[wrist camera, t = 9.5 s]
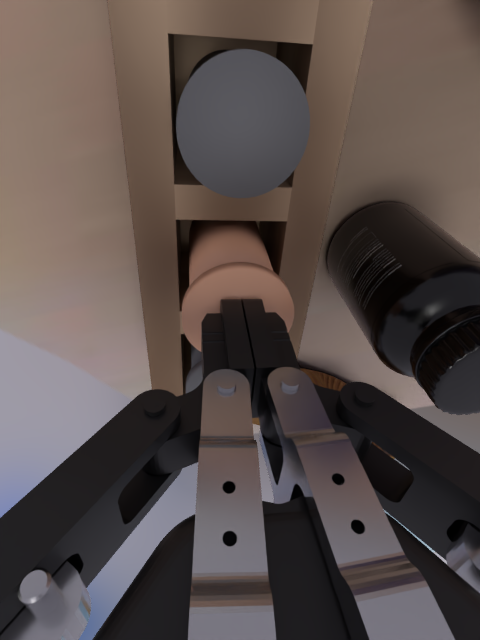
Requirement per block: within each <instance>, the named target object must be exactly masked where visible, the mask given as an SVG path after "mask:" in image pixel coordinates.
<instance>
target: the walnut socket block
mask: <svg viewBox="0 0 480 640" xmlns="http://www.w3.org/2000/svg"><path fill="white" fill-rule="evenodd" d="M107 3H108V12H109V21H110V29H111V38H112V47H113V55H114V64H115V73H116V81H117V90H118V99H119V107H120V116H121V125H122V133H123V142H124V151H125V159H126V168H127V177H128V185H129V194H130V203H131V211H132V220H133V229H134V237H135V246H136V255H137V263H138V272H139V281H140V289H141V298H142V307H143V315H144V324H145V333H146V341H147V350H148V359H149V367H150V376H151V384H152V390H154V389H162V390H166V391H169V392H171V393H173V394H174V395H175V396H176V397H177V396H180V395H183V394H186V378H187V375H188V373H189V371H190V370H191V343H190V342H189V340H188V339H187V337H186V335H185V333H184V331H183V327H182V302H183V298H184V296H185V293H186V291H187V289H188V288H189V230H190V226H191V223H192V221H193V220H234V221H256V223H257V226H258V229H259V231H260V234H261V237H262V240H263V243H264V246H265V249H266V251H267V254H268V257H269V260H270V263H271V266H272V268H273V271H274V272H275V273H276V274H277V275H278V276H280V278H281V279H282V280H283V281H284V282H285V284H286V286H287V288H288V290H289V293H290V295H291V298H292V300H293V304H294V320H293V324H292V326H291V328H290V331H289V332H288V333H289V336H290V341H291V342H292V345H293V349H294V352H295V355H296V358H297V357H298V353H299V348H300V343H301V338H302V334H303V329H304V324H305V320H306V315H307V310H308V306H309V301H310V296H311V291H312V287H313V282H314V277H315V273H316V268H317V263H318V258H319V254H320V249H321V244H322V240H323V235H324V230H325V226H326V221H327V216H328V211H329V207H330V202H331V197H332V193H333V188H334V183H335V178H336V174H337V169H338V164H339V160H340V155H341V150H342V146H343V141H344V136H345V131H346V127H347V122H348V117H349V113H350V108H351V103H352V98H353V94H354V89H355V84H356V80H357V75H358V70H359V66H360V61H361V56H362V51H363V47H364V42H365V37H366V33H367V28H368V23H369V18H370V14H371V9H372V4H373V0H107ZM233 49H252V50H257V51H260V52H263V53H266V54H269V55H270V56H272V57H274V58H276V59H278V60H279V61H281V62H282V63H283V64H285V65H286V66H287V67H288V68H289V69H290V70H291V71H292V72H293V74H294V75H295V76H296V78H297V79H298V81H299V82H300V84H301V86H302V88H303V90H304V93H305V95H306V98H307V102H308V106H309V113H310V131H309V138H308V142H307V146H306V149H305V152H304V154H303V156H302V158H301V160H300V162H299V164H298V165H297V167H296V169H295V170H294V171H293V172H292V174H291V175H290V176H289V177H288V178H287V179H286V180H285V181H284V182H283V183H281V184H280V185H279V186H278V187H276V188H274V189H273V190H271V191H269V192H267V193H265V194H262V195H259V196H256V197H250V198H232V197H227V196H223V195H221V194H218V193H216V192H214V191H212V190H210V189H208V188H207V187H206V186H204V185H203V184H202V183H201V182H199V181H198V180H197V179H196V178H195V176H194V175H193V174H192V173H191V172H190V170H189V168H188V167H187V165H186V164H185V162H184V160H183V158H182V155H181V152H180V149H179V145H178V141H177V133H176V117H177V110H178V104H179V101H180V97H181V94H182V92H183V90H184V87H185V85H186V84H187V82H188V80H189V77H190V74H191V72H192V70H193V68H194V67H195V65H196V64H197V63H198V62H199V61H200V60H201V59H202V58H203V57H205V56H206V55H208V54H209V53H211V52H214V51H218V50H233Z"/></svg>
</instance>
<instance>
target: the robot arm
mask: <svg viewBox="0 0 480 640" xmlns="http://www.w3.org/2000/svg"><path fill="white" fill-rule="evenodd" d="M201 358H202V379H203V380H202V382H201V383H200V385H199V386H198V387H197V388H195V389H194V390H193V391H191V392H189V393H186V394H183V395H180V396H177V397H176V396H175V395H174V394H173V393H171V392H169V391H166V390H162V389H154V390H149V391H146V392H143V393H142V394H140V395H138V396H137V397H136V398H135V399H134V400H132V401H131V402H130V403H129V404H128V405H127V406H126V407H125V408H124V409H123V410H121V411H120V412H119V413H118V414H117V415H116V416H114V417H113V418H112V419H111V420H110V421H109V422H108V423H107V424H105V425H104V426H103V427H102V428H101V429H100V430H99V431H98V432H97V433H96V434H94V435H93V436H92V437H91V438H90V439H89V440H88V441H86V442H85V443H84V444H83V445H82V446H81V447H80V448H79V449H78V450H76V451H75V452H74V453H73V454H72V455H71V456H70V457H69V458H67V459H66V460H65V461H64V462H63V463H62V464H61V465H59V466H58V467H57V468H56V469H55V470H54V471H53V472H52V473H50V474H49V475H48V476H47V477H46V478H45V479H44V480H43V481H41V482H40V483H39V484H38V485H37V486H36V487H35V488H34V489H33V490H31V491H30V492H29V493H28V494H27V495H26V496H25V497H23V498H22V499H21V500H20V501H19V502H18V503H17V504H16V505H14V506H13V507H12V508H11V509H10V510H9V511H8V512H7V513H5V514H4V515H3V516H2V517H1V518H0V640H78V639H79V638H80V636H81V634H82V633H83V631H84V629H85V627H86V625H87V622H88V620H89V617H90V611H91V600H90V596H89V593H88V591H87V589H86V588H87V587H88V585H89V584H90V583H91V582H92V580H93V579H94V578H95V577H96V576H97V574H98V573H99V572H100V571H101V569H102V568H103V567H104V566H105V565H106V563H107V562H108V561H109V560H110V558H111V557H112V556H113V555H114V554H115V552H116V551H117V550H118V549H119V547H120V546H121V545H122V544H123V542H124V541H125V540H126V539H127V537H128V536H129V535H130V534H131V533H132V531H133V530H134V529H135V528H136V527H137V525H138V524H139V523H140V521H141V520H142V519H143V518H144V517H145V515H146V514H147V513H148V512H149V511H150V509H151V508H152V507H153V506H154V504H155V503H156V502H157V501H158V500H159V498H160V497H161V496H162V495H163V494H164V492H165V491H166V490H167V489H168V487H169V486H170V485H171V484H172V482H173V481H174V480H175V479H176V478H177V476H178V475H179V474H180V472H181V470H182V468H184V467H187V466H189V465H192V464H194V463H197V462H198V477H197V494H196V512H195V515H192V516H191V517H189V518H187V519H185V520H184V521H182V522H181V523H179V524H178V525H177V526H175V527H174V528H173V529H172V530H171V531H170V532H169V533H168V534H167V535H166V536H165V537H164V538H163V540H162V541H161V542H160V543H159V545H158V546H157V547H156V549H155V550H154V552H153V553H152V555H151V556H150V557H149V559H148V560H147V562H146V563H145V565H144V566H143V567H142V569H141V570H140V572H139V573H138V575H137V576H136V578H135V579H134V580H133V582H132V584H131V585H130V586H129V588H128V589H127V591H126V592H125V593H124V595H123V597H122V598H121V599H120V601H119V602H118V604H117V605H116V606H115V608H114V609H113V611H112V612H111V614H110V615H109V617H108V618H107V619H106V621H105V622H104V624H103V625H102V627H101V628H100V629H99V631H98V632H97V634H96V635H95V637H94V638H93V640H480V454H479V453H478V452H476V451H474V450H473V449H471V448H470V447H468V446H466V445H465V444H463V443H462V442H460V441H459V440H457V439H456V438H454V437H452V436H451V435H449V434H448V433H446V432H445V431H443V430H441V429H440V428H438V427H437V426H435V425H433V424H432V423H430V422H429V421H427V420H426V419H424V418H422V417H421V416H419V415H417V414H416V413H415V412H413V411H412V410H410V409H408V408H407V407H405V406H404V405H402V404H401V403H399V402H397V401H396V400H394V399H393V398H391V397H389V396H388V395H386V394H385V393H383V392H382V391H380V390H378V389H377V388H375V387H374V386H372V385H369V384H367V383H363V382H351V383H348V384H346V385H345V386H343V388H342V389H341V391H338V390H333V389H329V388H324V387H321V386H318V385H316V384H314V383H312V381H311V379H310V377H309V376H308V375H307V374H306V373H304V372H303V371H301V370H300V367H299V364H298V361H297V358H296V355H295V352H294V349H293V345H292V342H291V341H290V336H289V333H288V330H287V327H286V324H285V321H284V320H283V319H282V318H281V317H280V316H279V315H278V314H277V313H276V312H265V308H264V305H263V301H262V299H242V300H241V299H221V300H220V313H207V314H206V315H205V317H204V319H203V321H202V322H201ZM252 418H259V422H260V431H259V441H260V444H261V448H262V452H263V455H264V460H265V463H266V467H267V471H268V475H269V479H270V482H271V486H272V490H273V496H274V503H270V502H265V501H262V495H261V483H260V471H259V459H258V448H257V442H256V440H254V436H253V423H252ZM372 442H374V443H375V444H376V445H378V446H379V447H380V448H382V449H383V450H385V451H386V452H387V453H389V454H390V455H391V456H393V457H394V458H396V459H397V460H398V461H400V462H401V463H403V464H404V465H405V466H406V467H408V468H409V469H410V470H408V469H407V468H405V467H404V466H402V465H401V464H399V463H398V462H397V461H396V460H394V459H393V458H391V457H390V456H389V455H387V454H386V453H385V452H383V451H382V450H380V449H379V448H378V447H376V446H375V445H374V444H372ZM383 509H384V510H386V511H387V512H388V513H389V514H390V515H391V516H393V517H394V518H395V519H396V520H398V521H399V522H400V523H401V524H402V525H404V526H405V527H406V528H407V529H409V530H410V531H411V532H412V533H413V534H415V535H416V536H417V537H418V538H420V539H421V540H422V541H423V542H425V543H426V544H427V545H428V546H429V547H431V548H432V549H433V550H434V551H435V552H437V553H438V554H439V555H440V556H442V557H443V558H444V559H445V560H446V561H447V564H445V563H444V562H443V561H442V560H441V559H440V558H439V557H437V556H436V555H435V554H434V553H433V552H431V551H430V550H429V549H428V548H427V547H426V546H425V545H424V544H422V543H421V542H420V541H419V540H418V539H417V538H415V537H414V536H413V535H412V534H411V533H410V532H409V531H407V530H406V529H405V528H404V527H403V526H401V525H400V524H399V523H398V522H397V521H396V520H394V519H393V518H392V517H390V516H389V515H388V514H386V513H385V512H384V510H383Z"/></svg>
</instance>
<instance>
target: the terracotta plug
mask: <svg viewBox="0 0 480 640" xmlns="http://www.w3.org/2000/svg"><path fill="white" fill-rule="evenodd" d="M221 299H241V300H242V299H262V301H263V305H264V308H265V312H276V313H277V314H278V315H279V316H280V317H281V318H282V319H283V320H284V321H285V324H286V327H287V330H288V332H289V331H290V328H291V326H292V324H293V320H294V304H293V300H292V298H291V295H290V293H289V290H288V288H287V286H286V284H285V282H284V281H283V280H282V279H281V278H280V276H278V275H277V274H276V273H275V272H274V271H273V268H272V266H271V263H270V260H269V257H268V254H267V251H266V249H265V246H264V243H263V240H262V237H261V234H260V231H259V229H258V226H257V223H256V221H234V220H193V221H192V223H191V226H190V230H189V288H188V289H187V291H186V293H185V296H184V298H183V302H182V327H183V331H184V333H185V335H186V337H187V339H188V340H189V342H190V343H191V344H192V345H193V346H194V347H195V348H196V349H197V350H199V351H200V352H201V322H202V321H203V319H204V317H205V315H206V314H207V313H220V300H221Z"/></svg>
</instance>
